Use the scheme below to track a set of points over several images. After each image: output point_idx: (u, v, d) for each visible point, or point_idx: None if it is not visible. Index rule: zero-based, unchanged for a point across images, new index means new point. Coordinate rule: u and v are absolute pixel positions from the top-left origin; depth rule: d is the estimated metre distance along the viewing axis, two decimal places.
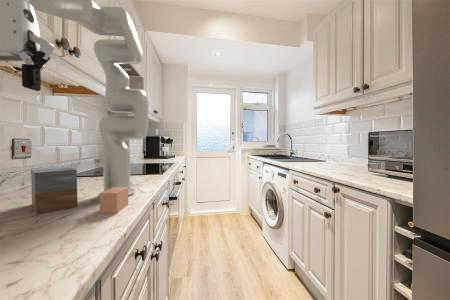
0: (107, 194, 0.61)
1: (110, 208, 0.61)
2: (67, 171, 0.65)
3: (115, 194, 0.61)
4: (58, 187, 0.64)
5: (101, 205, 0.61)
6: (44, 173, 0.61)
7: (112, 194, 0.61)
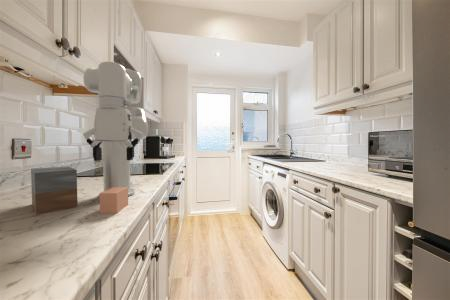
0: (107, 194, 0.61)
1: (110, 208, 0.61)
2: (67, 171, 0.65)
3: (115, 194, 0.61)
4: (58, 187, 0.64)
5: (101, 205, 0.61)
6: (44, 173, 0.61)
7: (112, 194, 0.61)
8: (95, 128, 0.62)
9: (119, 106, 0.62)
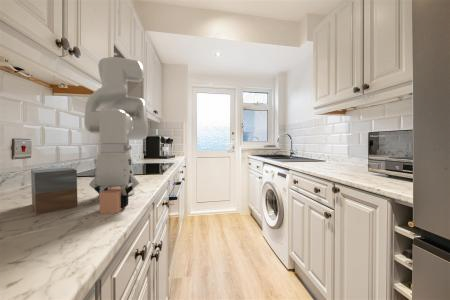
0: (107, 194, 0.61)
1: (110, 208, 0.61)
2: (67, 171, 0.65)
3: (115, 194, 0.61)
4: (58, 187, 0.64)
5: (101, 205, 0.61)
6: (44, 173, 0.61)
7: (112, 194, 0.61)
8: (96, 174, 0.63)
9: (120, 152, 0.63)
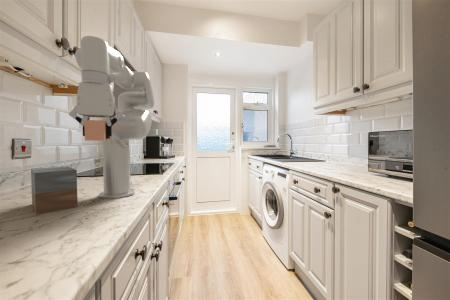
0: (93, 121, 0.62)
1: (96, 135, 0.62)
2: (67, 171, 0.65)
3: (102, 121, 0.62)
4: (58, 187, 0.64)
5: (86, 132, 0.61)
6: (44, 173, 0.61)
7: (98, 121, 0.62)
8: (79, 102, 0.62)
9: (105, 82, 0.64)
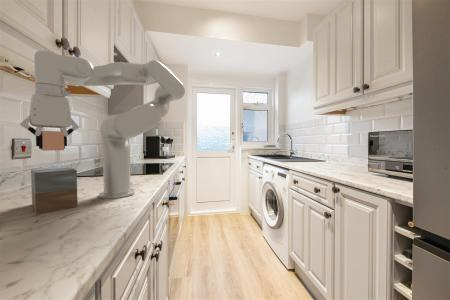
0: (52, 132, 0.65)
1: (56, 145, 0.65)
2: (67, 171, 0.65)
3: (62, 132, 0.66)
4: (58, 187, 0.64)
5: (45, 142, 0.63)
6: (44, 173, 0.61)
7: (58, 132, 0.66)
8: (34, 113, 0.63)
9: (63, 95, 0.68)
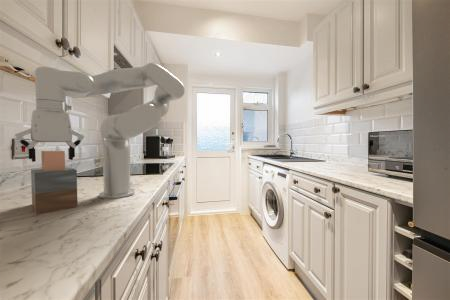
0: (53, 152, 0.65)
1: (57, 165, 0.66)
2: (67, 171, 0.65)
3: (63, 152, 0.67)
4: (58, 187, 0.64)
5: (46, 163, 0.64)
6: (44, 173, 0.61)
7: (59, 152, 0.66)
8: (35, 130, 0.63)
9: (64, 110, 0.68)
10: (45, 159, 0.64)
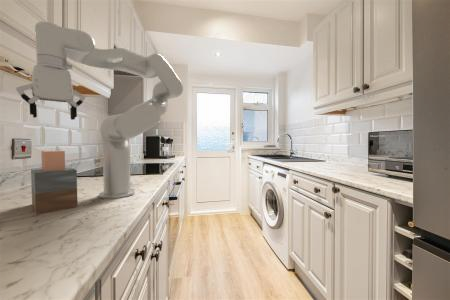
0: (53, 152, 0.65)
1: (57, 165, 0.66)
2: (67, 171, 0.65)
3: (63, 152, 0.67)
4: (58, 187, 0.64)
5: (46, 163, 0.64)
6: (44, 173, 0.61)
7: (59, 152, 0.66)
8: (36, 85, 0.63)
9: (65, 68, 0.68)
10: (45, 159, 0.64)
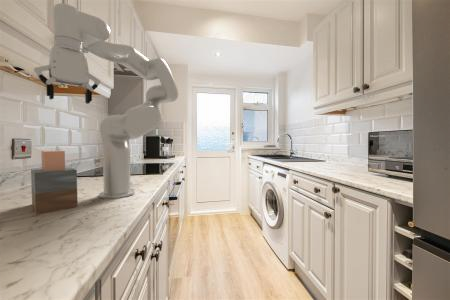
0: (53, 152, 0.65)
1: (57, 165, 0.66)
2: (67, 171, 0.65)
3: (63, 152, 0.67)
4: (58, 187, 0.64)
5: (46, 163, 0.64)
6: (44, 173, 0.61)
7: (59, 152, 0.66)
8: (54, 66, 0.63)
9: (81, 51, 0.68)
10: (45, 159, 0.64)
